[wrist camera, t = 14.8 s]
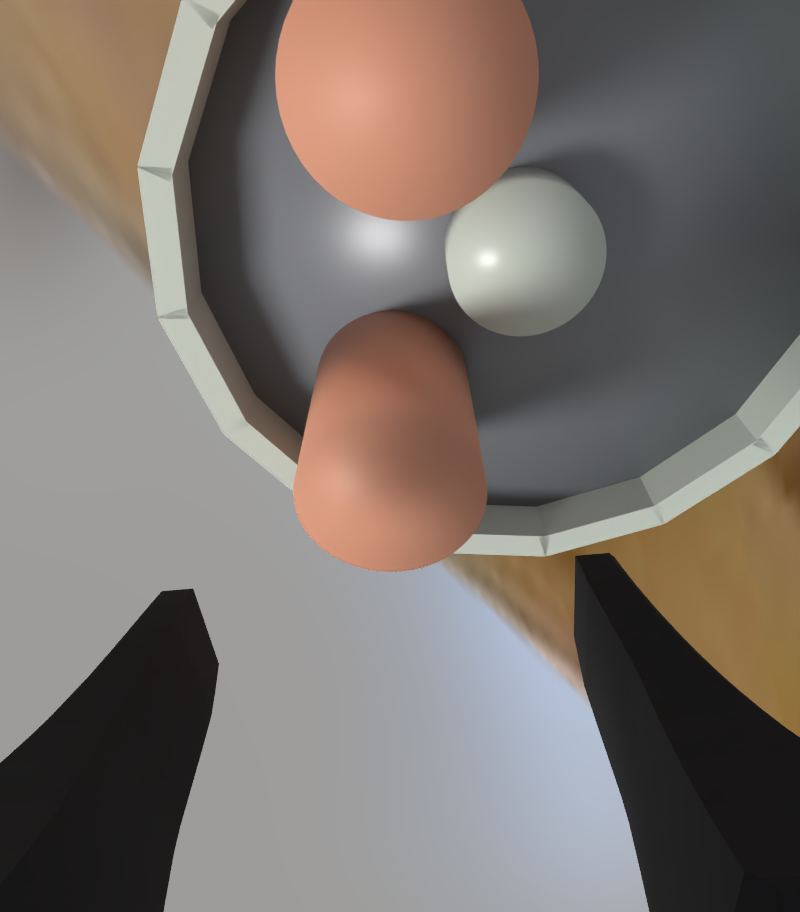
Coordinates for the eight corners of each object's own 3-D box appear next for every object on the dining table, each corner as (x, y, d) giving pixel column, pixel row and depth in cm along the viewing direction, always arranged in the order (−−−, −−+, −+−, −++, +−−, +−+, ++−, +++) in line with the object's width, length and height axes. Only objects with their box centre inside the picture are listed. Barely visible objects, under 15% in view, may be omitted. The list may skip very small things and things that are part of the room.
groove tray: (1045, 50, 18) (1118, 57, 16) (611, 581, 28) (627, 625, 26) (325, -437, 14) (315, -501, 12) (95, 386, 23) (69, 421, 21)
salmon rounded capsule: (534, 9, 17) (590, 18, 12) (443, 189, 20) (459, 261, 14) (358, -98, 16) (339, -136, 11) (281, 105, 18) (238, 151, 13)
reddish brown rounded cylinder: (461, 302, 21) (481, 402, 16) (472, 437, 24) (492, 563, 18) (304, 320, 21) (274, 424, 16) (330, 452, 24) (312, 579, 19)
